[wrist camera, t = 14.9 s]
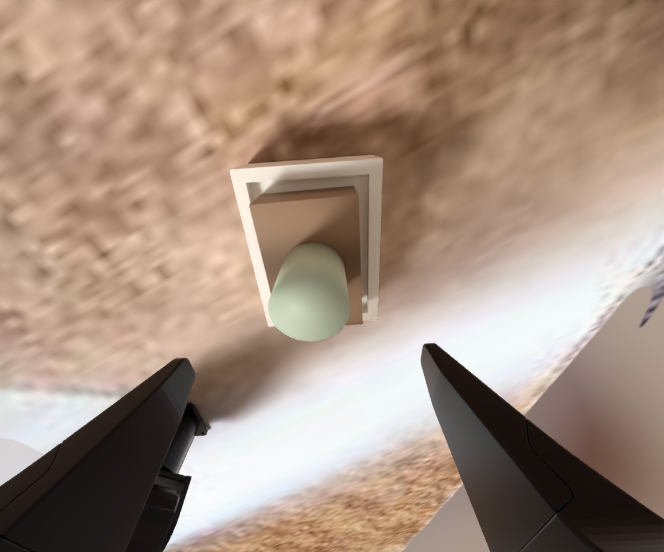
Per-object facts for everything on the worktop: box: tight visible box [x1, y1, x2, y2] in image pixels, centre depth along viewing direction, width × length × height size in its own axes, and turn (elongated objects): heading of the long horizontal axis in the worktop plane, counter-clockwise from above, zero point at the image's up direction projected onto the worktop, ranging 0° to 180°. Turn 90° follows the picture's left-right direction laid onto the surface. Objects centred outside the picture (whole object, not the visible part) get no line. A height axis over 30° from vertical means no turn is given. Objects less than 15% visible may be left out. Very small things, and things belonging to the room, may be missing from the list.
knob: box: [268, 243, 350, 341], centre depth 14 cm, size 4×4×4 cm
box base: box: [230, 155, 383, 327], centre depth 19 cm, size 12×9×4 cm
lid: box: [249, 186, 363, 325], centre depth 17 cm, size 9×6×3 cm, turn 5°
